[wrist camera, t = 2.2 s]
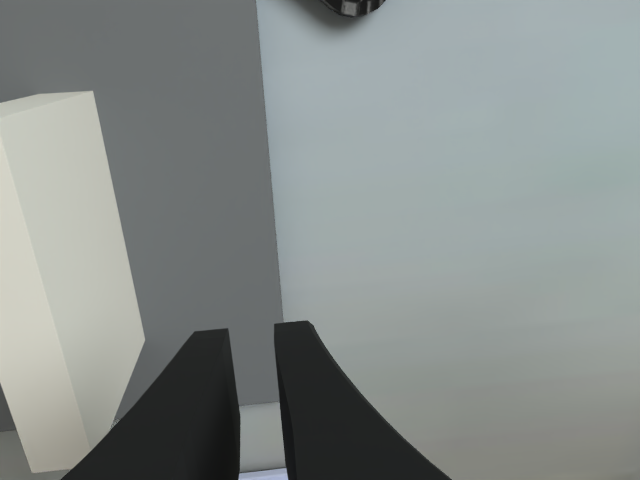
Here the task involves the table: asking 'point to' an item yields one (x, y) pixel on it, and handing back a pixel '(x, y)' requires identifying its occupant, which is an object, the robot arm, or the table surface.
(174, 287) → the desk mat
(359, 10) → the phone
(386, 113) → the table surface
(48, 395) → the card box
